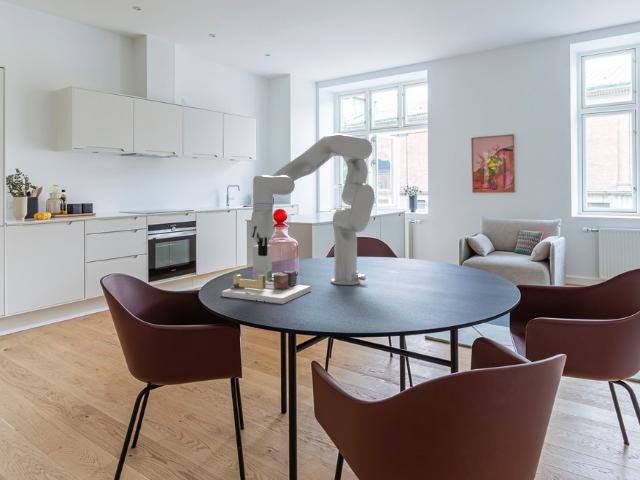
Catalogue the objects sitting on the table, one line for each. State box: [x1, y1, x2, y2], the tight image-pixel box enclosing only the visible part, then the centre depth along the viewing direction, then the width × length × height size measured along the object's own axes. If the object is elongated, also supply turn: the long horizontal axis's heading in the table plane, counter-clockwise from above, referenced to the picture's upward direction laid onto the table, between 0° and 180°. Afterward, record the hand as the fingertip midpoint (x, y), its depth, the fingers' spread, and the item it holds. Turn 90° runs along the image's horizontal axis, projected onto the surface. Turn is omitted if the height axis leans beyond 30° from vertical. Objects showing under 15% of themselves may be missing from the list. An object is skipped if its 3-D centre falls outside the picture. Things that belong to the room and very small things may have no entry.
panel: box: [221, 281, 312, 305], centre depth 179 cm, size 27×22×2 cm
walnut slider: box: [272, 272, 288, 289], centre depth 177 cm, size 4×4×5 cm
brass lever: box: [232, 273, 266, 290], centre depth 177 cm, size 14×3×5 cm, turn 65°
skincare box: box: [252, 244, 273, 282], centre depth 202 cm, size 8×7×16 cm
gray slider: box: [281, 270, 297, 286], centre depth 183 cm, size 4×4×5 cm
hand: (262, 255), depth 180 cm, fingers closed
